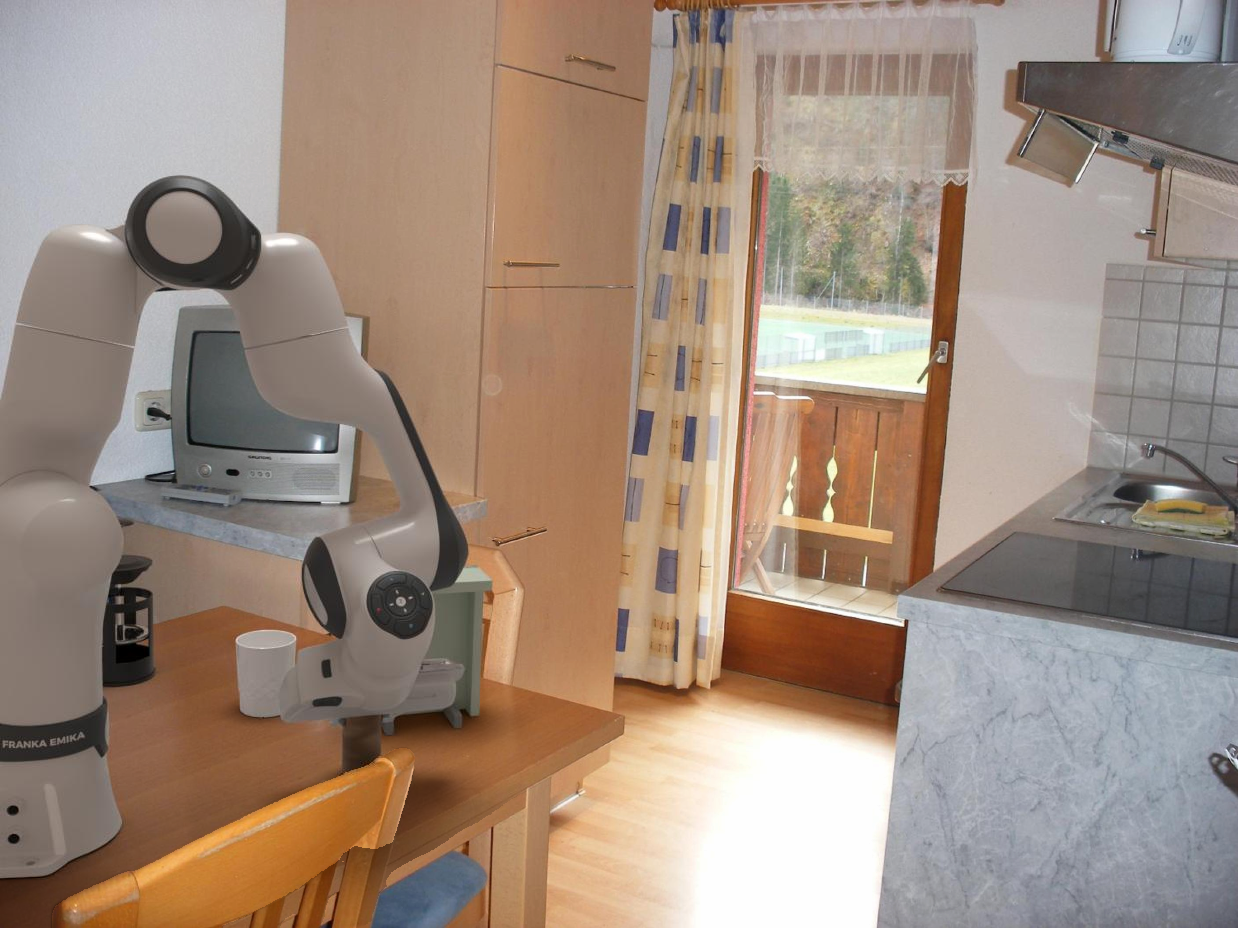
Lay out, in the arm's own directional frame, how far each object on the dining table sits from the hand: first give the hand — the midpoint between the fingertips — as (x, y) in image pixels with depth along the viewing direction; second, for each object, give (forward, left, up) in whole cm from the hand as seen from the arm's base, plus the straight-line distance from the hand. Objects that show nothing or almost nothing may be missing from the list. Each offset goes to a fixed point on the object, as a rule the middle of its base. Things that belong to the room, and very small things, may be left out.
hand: (361, 718), depth 143 cm
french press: (-28, +40, -7) cm, 50 cm away
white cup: (-9, +22, -7) cm, 25 cm away
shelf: (+10, +12, -6) cm, 17 cm away
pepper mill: (0, -1, -6) cm, 6 cm away
